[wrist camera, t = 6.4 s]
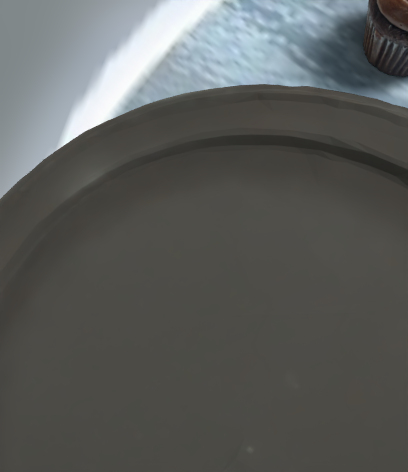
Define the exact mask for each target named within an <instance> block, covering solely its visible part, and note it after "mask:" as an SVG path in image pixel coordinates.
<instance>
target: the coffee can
mask: <svg viewBox="0 0 408 472" xmlns="http://www.w3.org/2000/svg"><path fill="white" fill-rule="evenodd" d="M0 472H408V108H405V107H401V106H397V105H393V104H390V103H387V102H384V101H381V100H378V99H374V98H369V97H364V96H359V95H355V94H350V93H344V92H338V91H333V90H327V89H321V88H315V87H309V86H300V87H289V86H281V85H268V84H259V85H240V86H231V87H223V88H215V89H208V90H202V91H196V92H190V93H184V94H181V95H177V96H173V97H170V98H166V99H162V100H159V101H156V102H153V103H150V104H147V105H144V106H142V107H139V108H137V109H134V110H132V111H129V112H127V113H125V114H123V115H120V116H118V117H116V118H113V119H111V120H108V121H106V122H104V123H102V124H100V125H98V126H96V127H94V128H92V129H89V130H87V131H85V132H84V133H82V134H81V135H79V136H78V137H76V138H75V139H73V140H72V141H70V142H69V143H67V144H66V145H64V146H63V147H61V148H60V149H58V150H57V151H55V152H54V153H53V154H51V155H50V156H48V157H47V158H46V159H44V160H43V161H42V162H41V163H40V164H38V165H37V166H36V167H35V168H34V169H33V170H32V171H31V172H30V173H28V174H27V175H26V176H24V177H23V178H22V179H21V180H19V181H18V182H17V183H16V184H15V185H14V186H13V187H12V188H11V189H10V190H9V191H8V192H7V193H6V194H5V195H4V196H3V197H2V198H1V199H0Z"/></svg>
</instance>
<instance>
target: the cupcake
mask: <svg viewBox="0 0 408 472" xmlns="http://www.w3.org/2000/svg"><path fill="white" fill-rule="evenodd" d="M363 47H364V51H365V55H366V56H367V58H368V61H369V63H371V64H372V65H373V66H375V67H377V68H378V69H379V70H380V71H382V72H384V73H386V74H388V75H396V76H408V0H369V3H368V13H367V23H366V27H365V34H364V42H363Z"/></svg>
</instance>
